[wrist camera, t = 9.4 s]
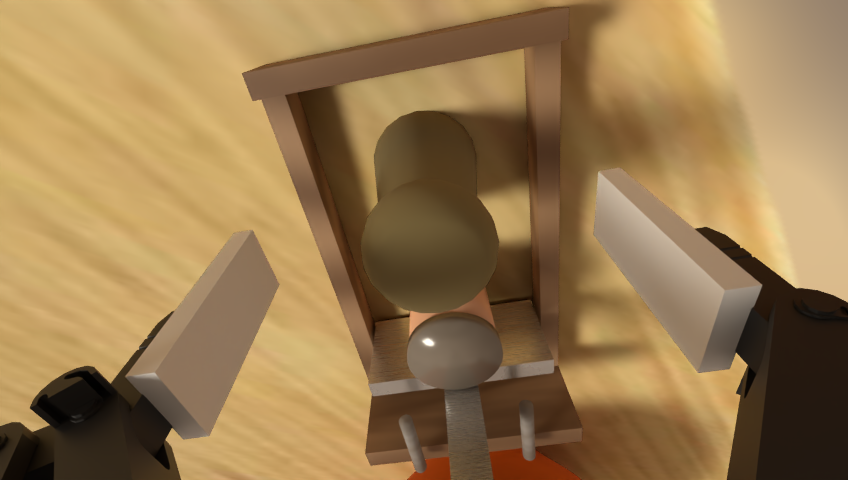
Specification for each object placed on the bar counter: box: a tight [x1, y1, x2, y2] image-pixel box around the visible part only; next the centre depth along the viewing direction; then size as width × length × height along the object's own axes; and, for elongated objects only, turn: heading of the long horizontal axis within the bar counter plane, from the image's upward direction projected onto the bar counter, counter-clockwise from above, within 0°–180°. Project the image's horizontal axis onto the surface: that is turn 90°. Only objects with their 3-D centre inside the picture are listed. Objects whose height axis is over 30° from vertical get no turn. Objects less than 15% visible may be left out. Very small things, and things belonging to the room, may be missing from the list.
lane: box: [242, 7, 583, 473], centre depth 22 cm, size 25×14×8 cm, turn 10°
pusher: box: [368, 300, 554, 480], centre depth 21 cm, size 1×11×18 cm, turn 100°
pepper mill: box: [361, 111, 499, 313], centre depth 18 cm, size 6×6×11 cm
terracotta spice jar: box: [407, 287, 503, 390], centre depth 24 cm, size 5×5×7 cm
